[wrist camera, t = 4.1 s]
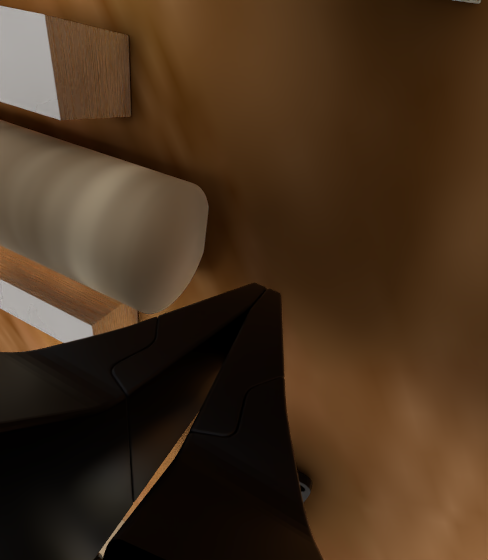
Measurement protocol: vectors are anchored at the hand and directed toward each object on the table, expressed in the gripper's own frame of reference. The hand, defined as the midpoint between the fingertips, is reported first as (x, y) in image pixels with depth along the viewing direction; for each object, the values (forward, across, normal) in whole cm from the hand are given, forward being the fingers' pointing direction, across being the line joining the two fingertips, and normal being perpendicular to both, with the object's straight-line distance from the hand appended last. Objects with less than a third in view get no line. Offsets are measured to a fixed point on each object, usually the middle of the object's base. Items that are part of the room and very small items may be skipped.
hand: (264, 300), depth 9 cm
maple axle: (+2, +9, 0) cm, 9 cm away
